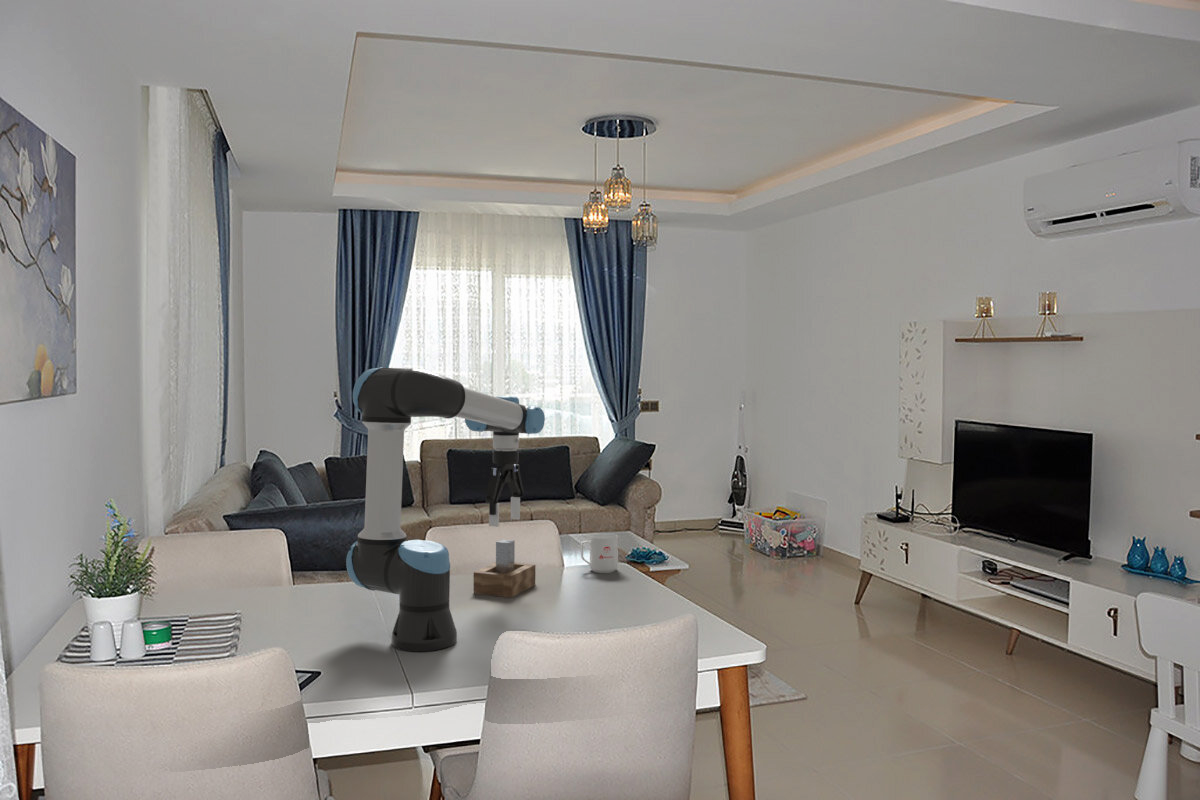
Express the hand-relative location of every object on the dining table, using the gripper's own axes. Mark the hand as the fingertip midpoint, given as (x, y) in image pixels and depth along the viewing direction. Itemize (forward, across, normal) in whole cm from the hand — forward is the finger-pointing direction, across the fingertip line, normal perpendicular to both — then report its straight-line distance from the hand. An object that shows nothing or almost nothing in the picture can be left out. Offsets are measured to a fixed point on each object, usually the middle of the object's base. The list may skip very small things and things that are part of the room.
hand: (504, 522), depth 268 cm
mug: (+19, +33, -17) cm, 41 cm away
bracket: (+19, +2, 0) cm, 20 cm away
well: (+19, +1, 0) cm, 19 cm away
